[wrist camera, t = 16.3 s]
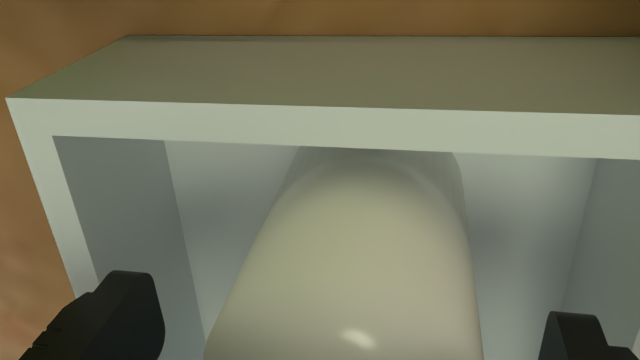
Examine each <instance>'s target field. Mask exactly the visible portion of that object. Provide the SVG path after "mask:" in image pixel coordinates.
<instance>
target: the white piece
mask: <svg viewBox="0 0 640 360" xmlns="http://www.w3.org/2000/svg"><path fill="white" fill-rule="evenodd" d="M203 360H484V353H483V345H482V337H481V328H480V320H479V312H478V304H477V295H476V287H475V279H474V271H473V262H472V254H471V246H470V238H469V229H468V221H467V213H466V205H465V196H464V188H463V181H462V174H461V171H460V168H459V165H458V163H457V160H456V158H455V156H454V155H453V153H452V152H438V151H414V150H390V149H366V148H342V147H318V146H300V147H299V149H298V150H297V153H296V155H295V157H294V159H293V161H292V163H291V165H290V167H289V169H288V171H287V173H286V175H285V178H284V180H283V182H282V184H281V186H280V188H279V190H278V192H277V194H276V196H275V198H274V201H273V203H272V205H271V207H270V209H269V211H268V213H267V215H266V217H265V219H264V221H263V223H262V226H261V228H260V230H259V232H258V234H257V236H256V238H255V240H254V242H253V244H252V246H251V248H250V251H249V253H248V255H247V257H246V259H245V261H244V263H243V265H242V267H241V269H240V271H239V274H238V276H237V278H236V280H235V282H234V284H233V286H232V288H231V290H230V292H229V294H228V296H227V299H226V301H225V303H224V305H223V307H222V309H221V311H220V313H219V315H218V317H217V319H216V322H215V324H214V326H213V328H212V330H211V332H210V334H209V336H208V338H207V341H206V345H205V349H204V353H203Z"/></svg>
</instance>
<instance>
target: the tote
mask: <svg viewBox="0 0 640 360" xmlns="http://www.w3.org/2000/svg"><path fill="white" fill-rule="evenodd" d="M5 100H6V102H7V105H8V108H9V111H10V114H11V117H12V119H13V122H14V125H15V128H16V131H17V133H18V136H19V139H20V142H21V145H22V148H23V150H24V153H25V156H26V159H27V162H28V165H29V167H30V170H31V173H32V176H33V179H34V182H35V184H36V187H37V190H38V193H39V196H40V199H41V201H42V204H43V207H44V210H45V213H46V216H47V218H48V221H49V224H50V227H51V230H52V232H53V235H54V238H55V241H56V244H57V247H58V249H59V252H60V255H61V258H62V261H63V264H64V266H65V269H66V272H67V275H68V278H69V281H70V283H71V286H72V289H73V292H74V295H75V298H76V299H77V298H78V297H80V296H81V295H83V294H84V293H86V292H94V290H95V289H96V288H97V287H98V285H99V284H100V283H101V282H102V281H103V279H104V278H105V277H106V276H107V275H108V274H109V273H110V272H111V271H113V270H122V271H133V272H144V273H149V274H150V275H151V276H152V278H153V280H154V284H155V287H156V291H157V295H158V299H159V303H160V307H161V311H162V315H163V319H164V323H165V341H164V345H163V348H162V351H161V354H160V356H159V357H158V359H157V360H203V353H204V349H205V345H206V341H207V338H208V336H209V334H210V332H211V330H212V328H213V326H214V324H215V322H216V319H217V317H218V315H219V313H220V311H221V309H222V307H223V305H224V303H225V301H226V299H227V296H228V294H229V292H230V290H231V288H232V286H233V284H234V282H235V280H236V278H237V276H238V274H239V271H240V269H241V267H242V265H243V263H244V261H245V259H246V257H247V255H248V253H249V251H250V248H251V246H252V244H253V242H254V240H255V238H256V236H257V234H258V232H259V230H260V228H261V226H262V223H263V221H264V219H265V217H266V215H267V213H268V211H269V209H270V207H271V205H272V203H273V201H274V198H275V196H276V194H277V192H278V190H279V188H280V186H281V184H282V182H283V180H284V178H285V175H286V173H287V171H288V169H289V167H290V165H291V163H292V161H293V159H294V157H295V155H296V153H297V150H298V149H299V147H300V146H318V147H342V148H366V149H390V150H414V151H438V152H452V153H453V155H454V156H455V158H456V160H457V163H458V165H459V168H460V171H461V174H462V181H463V188H464V196H465V205H466V213H467V221H468V229H469V238H470V246H471V254H472V262H473V271H474V279H475V287H476V295H477V304H478V312H479V320H480V328H481V337H482V345H483V353H484V360H538V357H539V352H540V348H541V343H542V339H543V335H544V330H545V326H546V321H547V317H548V315H549V313H550V312H551V311H559V312H570V313H581V314H592V315H595V316H596V317H597V318H598V320H599V322H600V325H601V327H602V330H603V333H604V335H605V338H606V340H607V343H608V345H609V346H618V347H628V348H629V349H630V350H631V351H632V352H633V353H634V354H635V355H636V356H637V358H638V359H639V360H640V37H518V36H199V35H127V36H125V37H123V38H121V39H119V40H117V41H115V42H113V43H111V44H109V45H107V46H105V47H103V48H101V49H99V50H97V51H96V52H94V53H92V54H90V55H88V56H86V57H84V58H82V59H80V60H78V61H76V62H74V63H72V64H70V65H68V66H66V67H64V68H62V69H60V70H58V71H56V72H54V73H52V74H51V75H49V76H47V77H45V78H43V79H41V80H39V81H37V82H35V83H33V84H31V85H29V86H27V87H25V88H23V89H21V90H19V91H17V92H15V93H13V94H11V95H9V96H7V97H6V98H5Z"/></svg>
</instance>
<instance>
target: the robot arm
mask: <svg viewBox="0 0 640 360" xmlns="http://www.w3.org/2000/svg"><path fill="white" fill-rule="evenodd" d="M164 341H165V323H164V319H163V315H162V311H161V307H160V303H159V299H158V295H157V291H156V287H155V284H154V280H153V278H152V276H151V275H150V274H149V273H144V272H133V271H122V270H113V271H111V272H110V273H109V274H108V275H107V276H106V277H105V278H104V279H103V281H102V282H101V283H100V284H99V285H98V287H97V288H96V289H95V290H94V292H86V293H84V294H83V295H81V296H80V297H78V298H77V299H75V300H74V301H73V302H71V303H70V304H68V305H67V306H65V307H64V308H63V309H62V310H61V311H60V312H59V313H58V315H57V316H56V317H55V318H54V319H53V320H52V322H51V323H50V324H49V325H48V326H47V330H46V331H43V332H42V333H41V334H40V336H39V337H38V338H37V339H36V340H35V341H34V342H33V346H32V348H28V349H27V351H26V352H25V353H24V354H23V355H22V356H21V358H20V359H19V360H157V359H158V357H159V356H160V354H161V351H162V348H163V345H164ZM538 360H639V359H638V358H637V356H636V355H635V354H634V353H633V352H632V351H631V350H630V349H629V348H628V347H618V346H609V345H608V343H607V340H606V338H605V335H604V333H603V330H602V327H601V325H600V322H599V320H598V318H597V317H596V316H595V315H592V314H581V313H570V312H559V311H551V312H550V313H549V315H548V317H547V321H546V326H545V330H544V335H543V339H542V343H541V348H540V352H539V357H538Z"/></svg>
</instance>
